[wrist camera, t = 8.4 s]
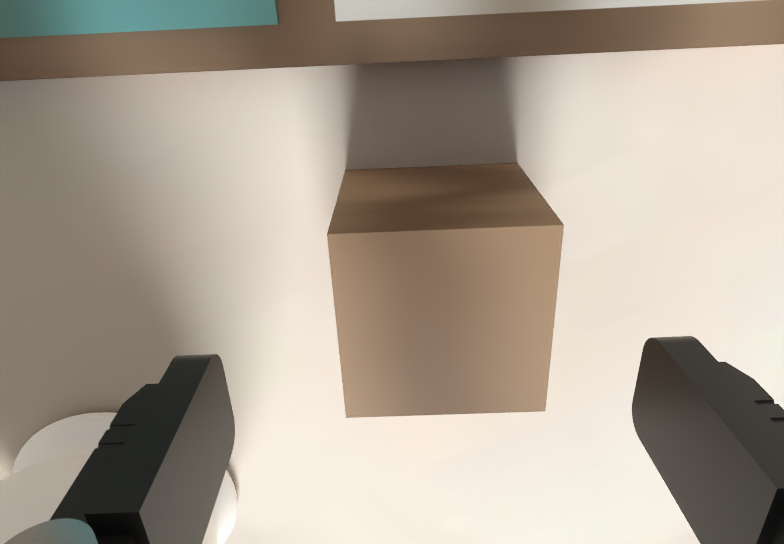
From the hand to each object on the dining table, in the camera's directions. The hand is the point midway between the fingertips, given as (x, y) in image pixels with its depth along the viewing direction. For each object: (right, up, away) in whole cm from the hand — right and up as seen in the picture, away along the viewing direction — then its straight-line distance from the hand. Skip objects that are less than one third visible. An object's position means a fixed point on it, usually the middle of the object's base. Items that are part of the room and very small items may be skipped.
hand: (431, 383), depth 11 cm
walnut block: (+1, +3, +7) cm, 7 cm away
